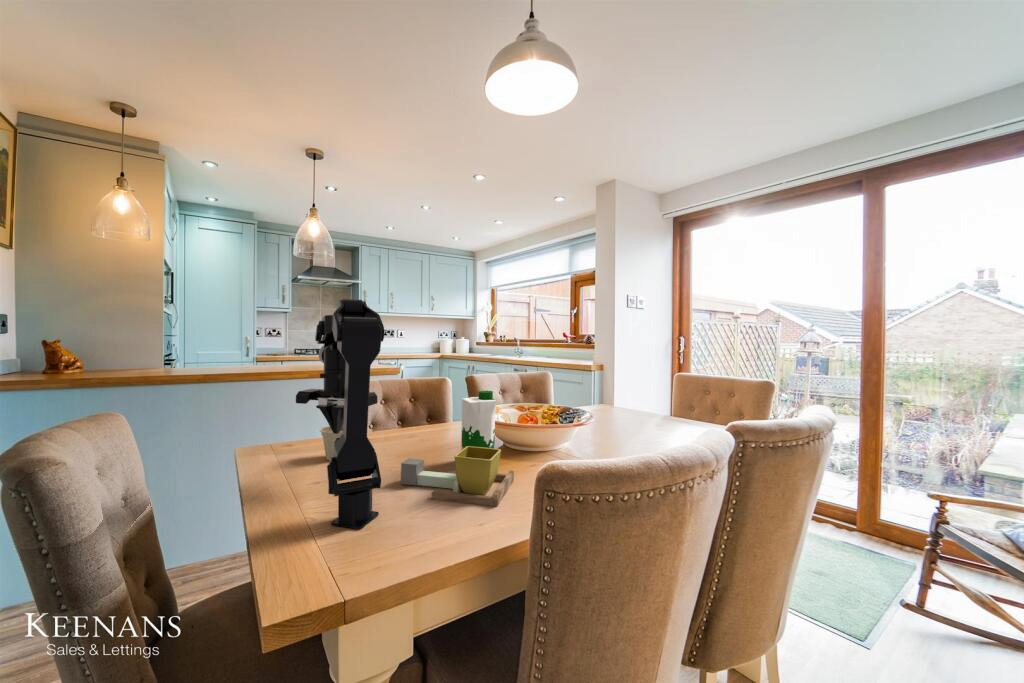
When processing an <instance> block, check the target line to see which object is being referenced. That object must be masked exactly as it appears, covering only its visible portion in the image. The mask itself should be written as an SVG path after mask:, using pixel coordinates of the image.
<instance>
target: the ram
mask: <svg viewBox="0 0 1024 683" xmlns="http://www.w3.org/2000/svg"><path fill="white" fill-rule="evenodd" d="M424 462H425V459H422V458H421V459H419V458H411V457H410V458H407V459H405V460H404V461H402V462H401V463H400V484H401V485H407V486H423V487H436V488H444V489H452V492H457V493H461V490H462V489H461V487H460V485H459V483H458V481H457V477H456V474H455V473H451V472H450V473H449V472H440V471H439V472H438V471H429V470H425V468H424V467H425V463H424ZM462 491H463V490H462Z"/></svg>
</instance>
